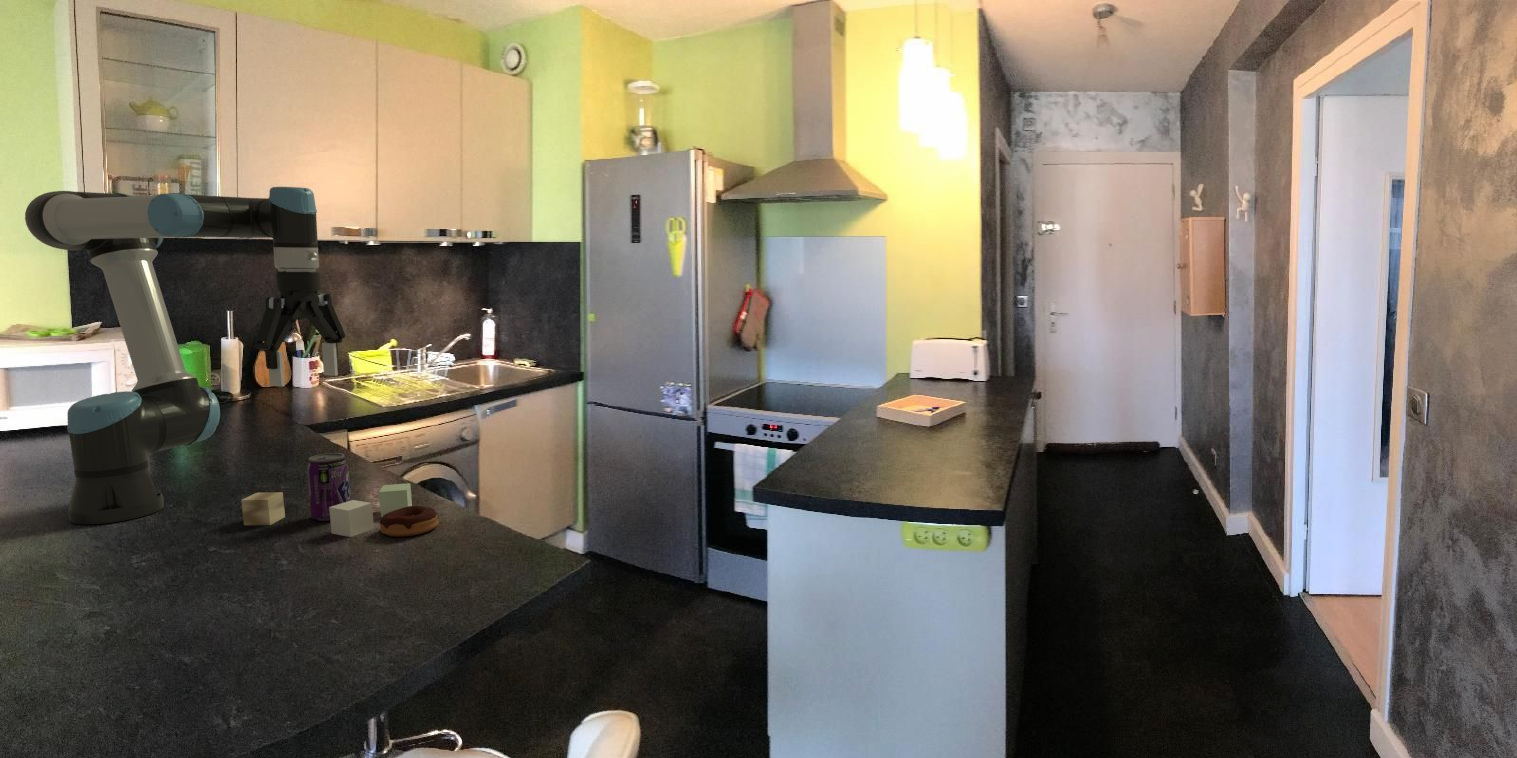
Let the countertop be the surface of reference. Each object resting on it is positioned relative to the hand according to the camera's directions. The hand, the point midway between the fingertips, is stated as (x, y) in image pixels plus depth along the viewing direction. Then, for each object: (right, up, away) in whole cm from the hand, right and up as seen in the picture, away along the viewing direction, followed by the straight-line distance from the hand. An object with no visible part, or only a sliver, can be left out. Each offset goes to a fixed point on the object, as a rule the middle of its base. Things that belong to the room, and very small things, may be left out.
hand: (305, 380), depth 166 cm
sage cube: (+17, -26, +2) cm, 31 cm away
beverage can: (+6, -27, -1) cm, 27 cm away
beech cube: (-6, -27, -3) cm, 28 cm away
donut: (+24, -28, -9) cm, 38 cm away
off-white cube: (+14, -28, -9) cm, 32 cm away
